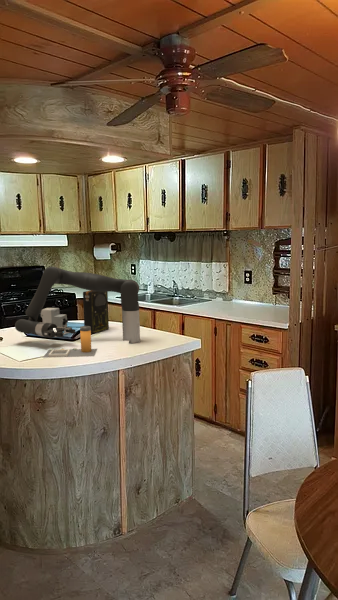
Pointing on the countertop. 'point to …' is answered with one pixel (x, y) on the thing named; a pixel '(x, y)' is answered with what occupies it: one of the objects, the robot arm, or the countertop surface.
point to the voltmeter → (96, 310)
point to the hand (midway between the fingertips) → (69, 333)
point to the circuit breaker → (54, 317)
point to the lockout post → (85, 338)
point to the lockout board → (69, 353)
